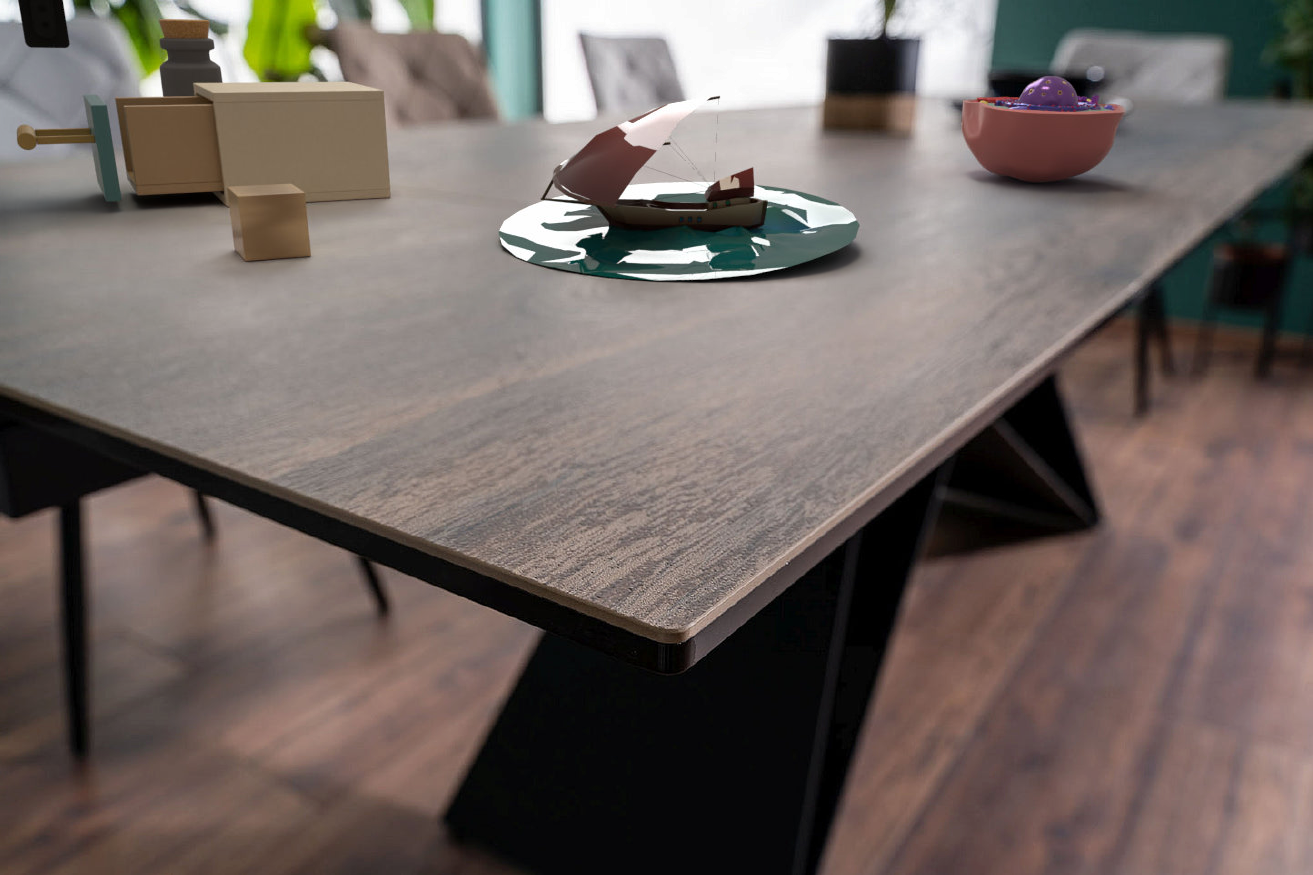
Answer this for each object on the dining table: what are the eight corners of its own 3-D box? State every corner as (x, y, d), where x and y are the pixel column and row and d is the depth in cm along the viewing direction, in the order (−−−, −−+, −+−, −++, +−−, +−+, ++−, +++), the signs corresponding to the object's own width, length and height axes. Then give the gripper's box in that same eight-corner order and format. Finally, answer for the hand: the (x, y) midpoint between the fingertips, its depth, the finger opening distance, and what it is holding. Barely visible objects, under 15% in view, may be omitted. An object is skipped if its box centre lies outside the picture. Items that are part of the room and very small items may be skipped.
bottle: (232, 175, 112) (214, 20, 107) (171, 176, 110) (149, 19, 105) (233, 167, 117) (216, 19, 112) (175, 168, 116) (154, 18, 110)
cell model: (1096, 172, 130) (1113, 73, 126) (1124, 197, 112) (1144, 82, 108) (952, 164, 134) (963, 68, 129) (956, 187, 115) (970, 76, 111)
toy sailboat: (504, 209, 97) (493, 79, 92) (811, 193, 99) (815, 66, 94) (494, 312, 72) (478, 142, 67) (905, 288, 74) (918, 121, 69)
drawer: (28, 206, 88) (9, 106, 85) (27, 186, 97) (10, 95, 94) (272, 192, 97) (263, 102, 94) (250, 175, 106) (240, 92, 103)
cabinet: (227, 206, 95) (213, 92, 91) (206, 186, 105) (192, 82, 101) (390, 197, 101) (383, 90, 98) (356, 178, 112) (348, 81, 108)
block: (245, 261, 75) (237, 196, 73) (234, 249, 79) (226, 186, 77) (311, 256, 77) (305, 192, 75) (297, 244, 81) (291, 183, 79)
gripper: (-48, -199, 87) (-4, 43, 94) (-55, -230, 75) (-5, 50, 82) (57, -188, 91) (92, 45, 97) (67, -216, 79) (105, 52, 85)
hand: (48, 46), depth 89 cm, fingers closed
